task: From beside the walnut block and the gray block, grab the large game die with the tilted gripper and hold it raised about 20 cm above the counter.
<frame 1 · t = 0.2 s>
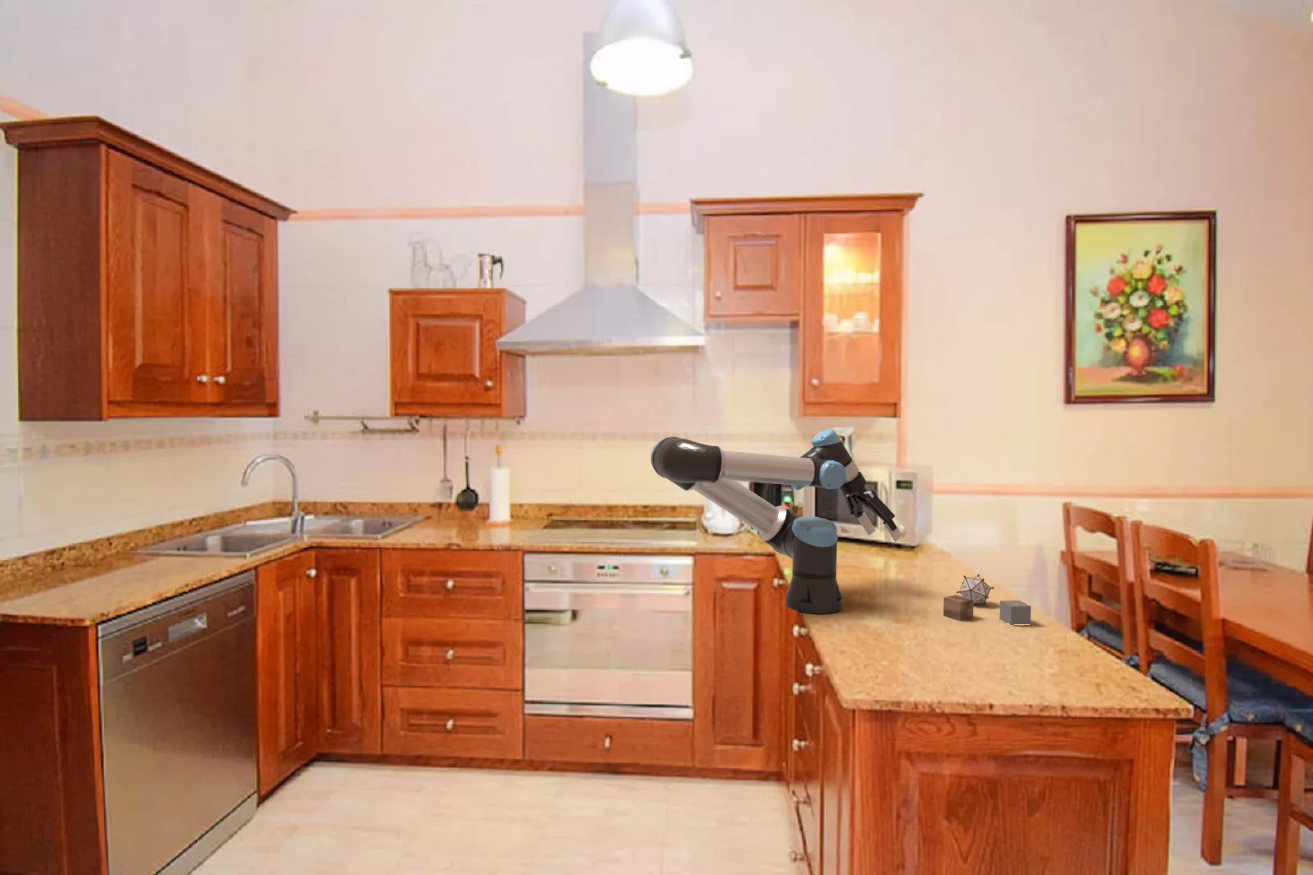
hand: (884, 535, 202), 16 cm above the counter, tool tilted 35°, fingers open, 13 cm apart
gray block: (1014, 623, 170), on the counter
game die: (974, 605, 186), on the counter
walnut block: (958, 617, 175), on the counter
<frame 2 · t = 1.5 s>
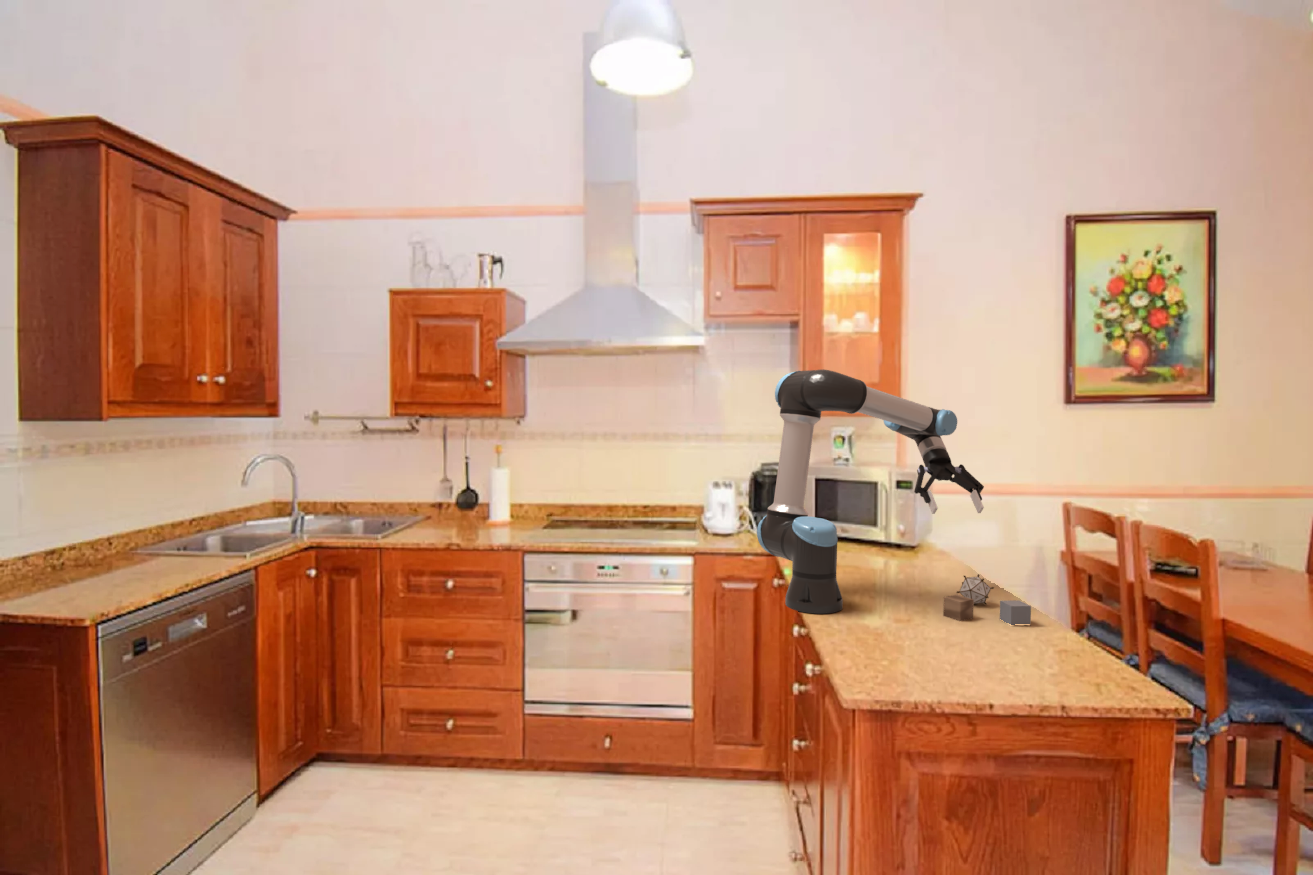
hand: (958, 510, 196), 24 cm above the counter, tool tilted 45°, fingers open, 13 cm apart
nothing on the counter moved.
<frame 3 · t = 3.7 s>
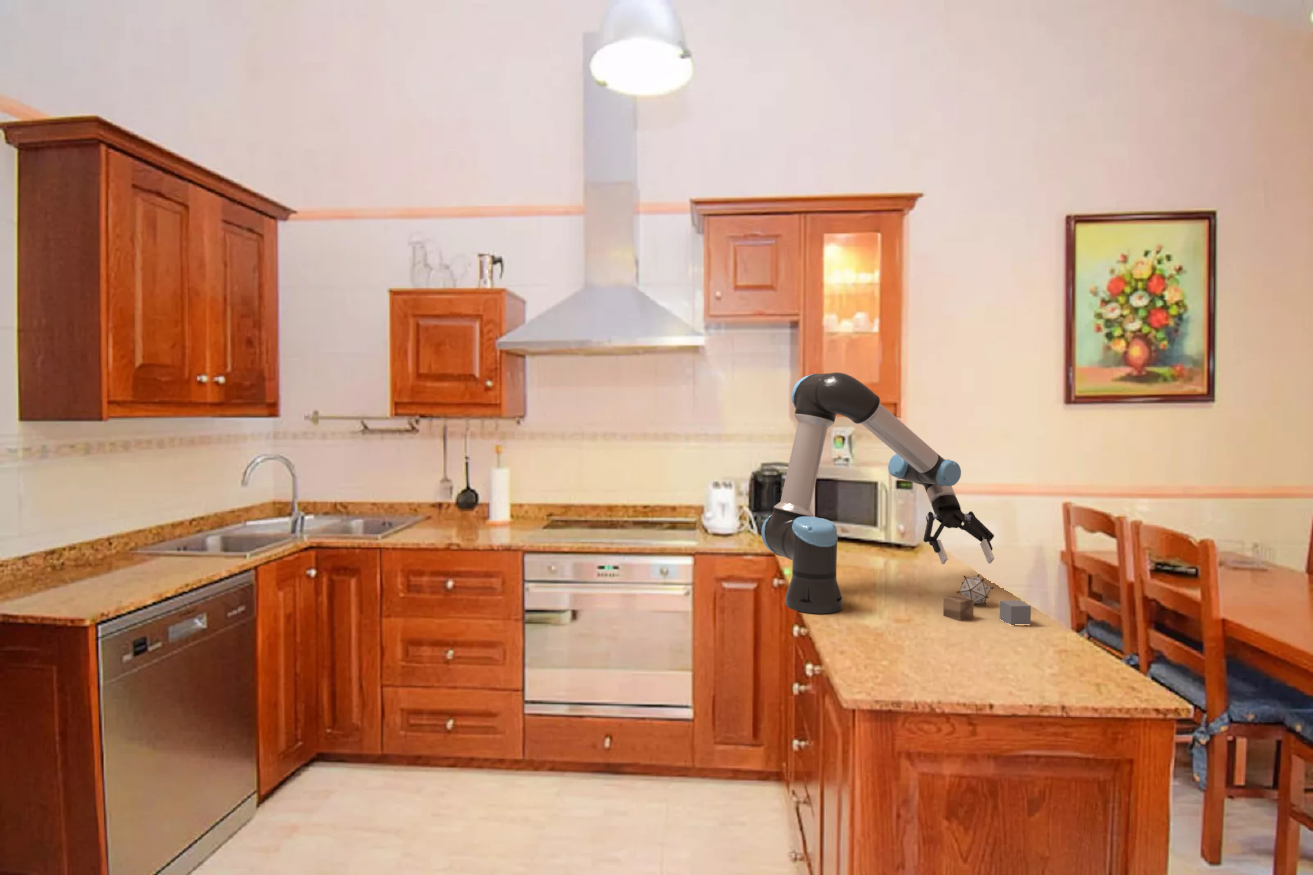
hand: (968, 561, 192), 10 cm above the counter, tool tilted 45°, fingers open, 13 cm apart
nothing on the counter moved.
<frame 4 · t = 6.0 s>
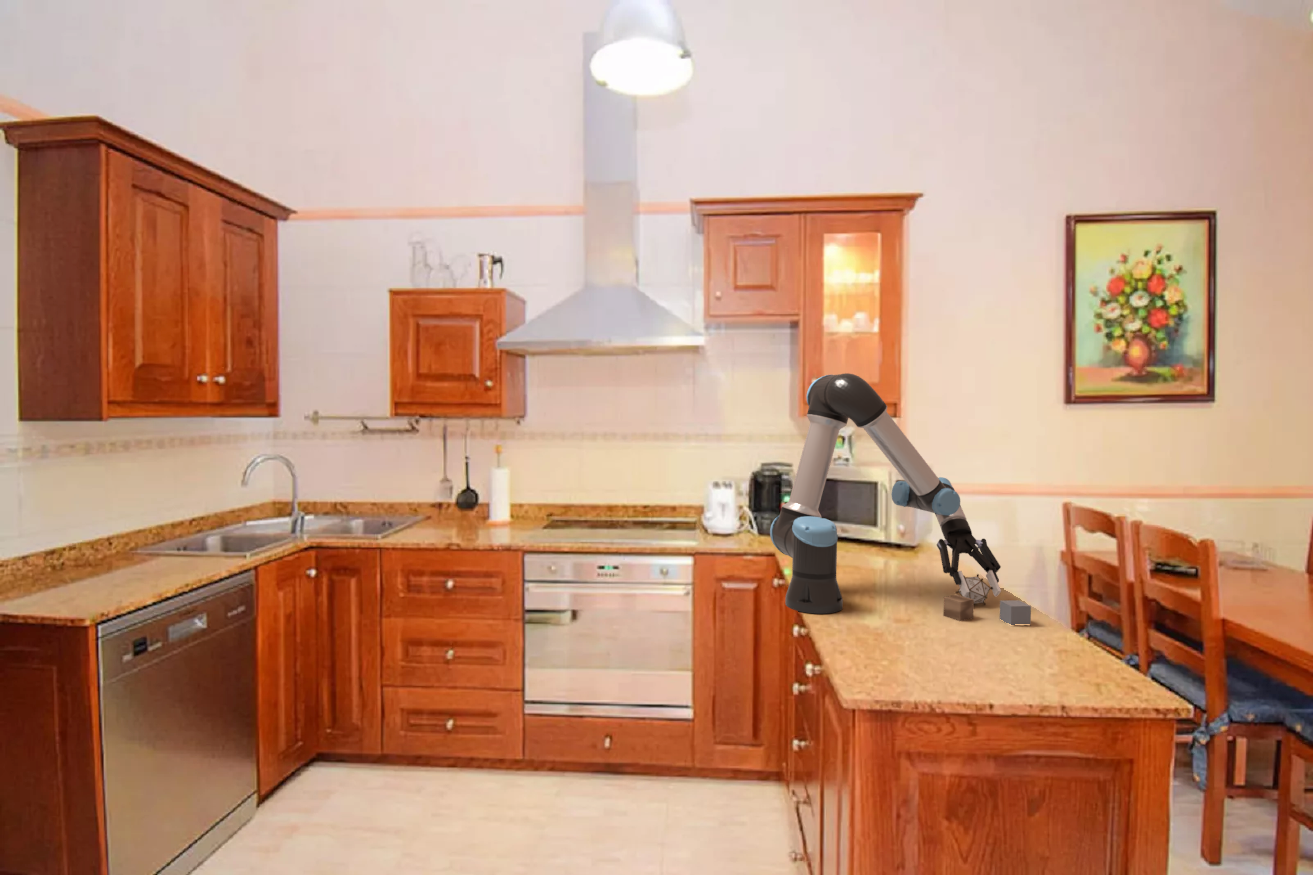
hand: (982, 594, 183), 4 cm above the counter, tool tilted 45°, fingers closed on game die, 8 cm apart
game die: (973, 605, 186), on the counter, touching gripper
everything else where it was.
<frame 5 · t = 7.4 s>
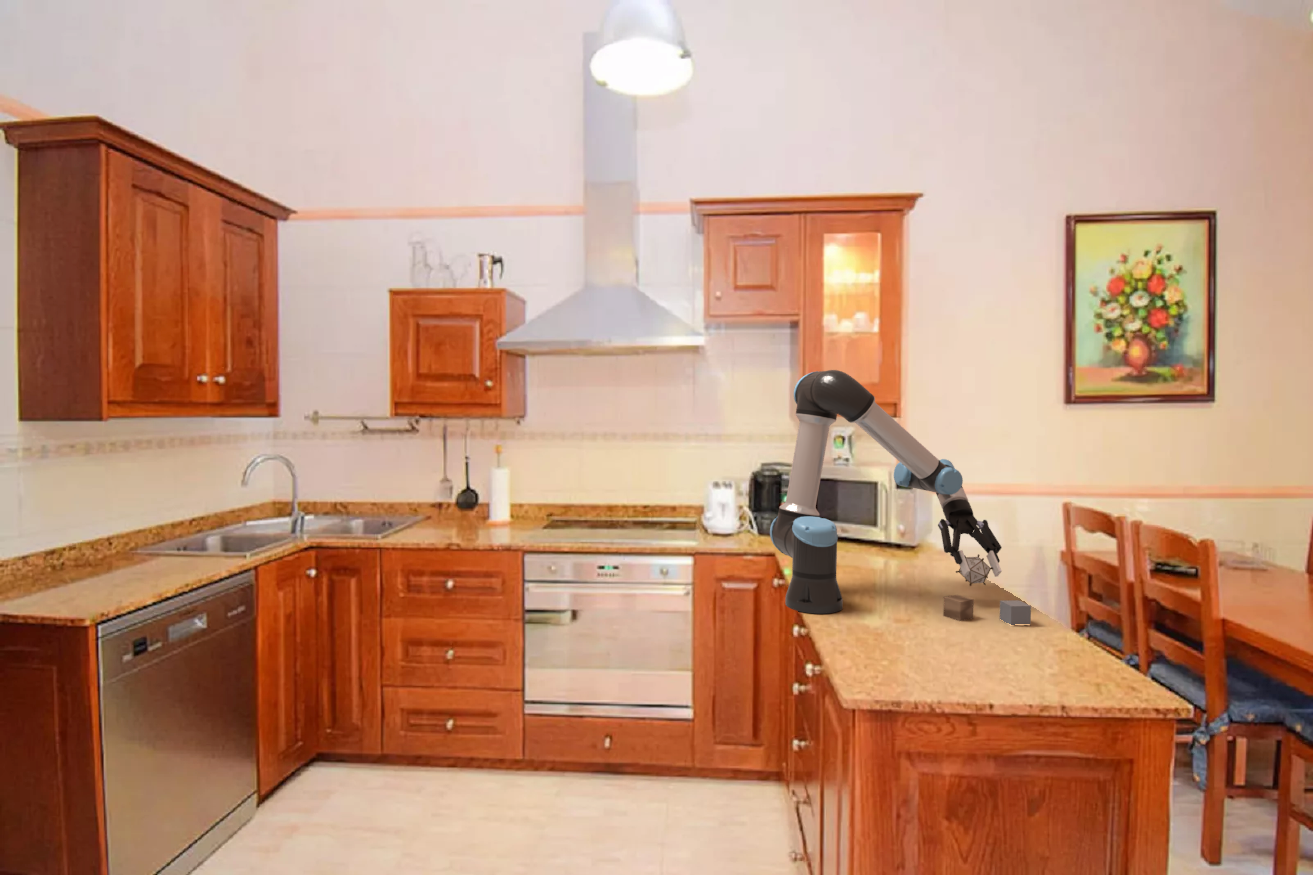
hand: (982, 573, 182), 9 cm above the counter, tool tilted 45°, fingers closed on game die, 8 cm apart
game die: (973, 585, 186), point 5 cm above the counter, touching gripper
everything else where it was.
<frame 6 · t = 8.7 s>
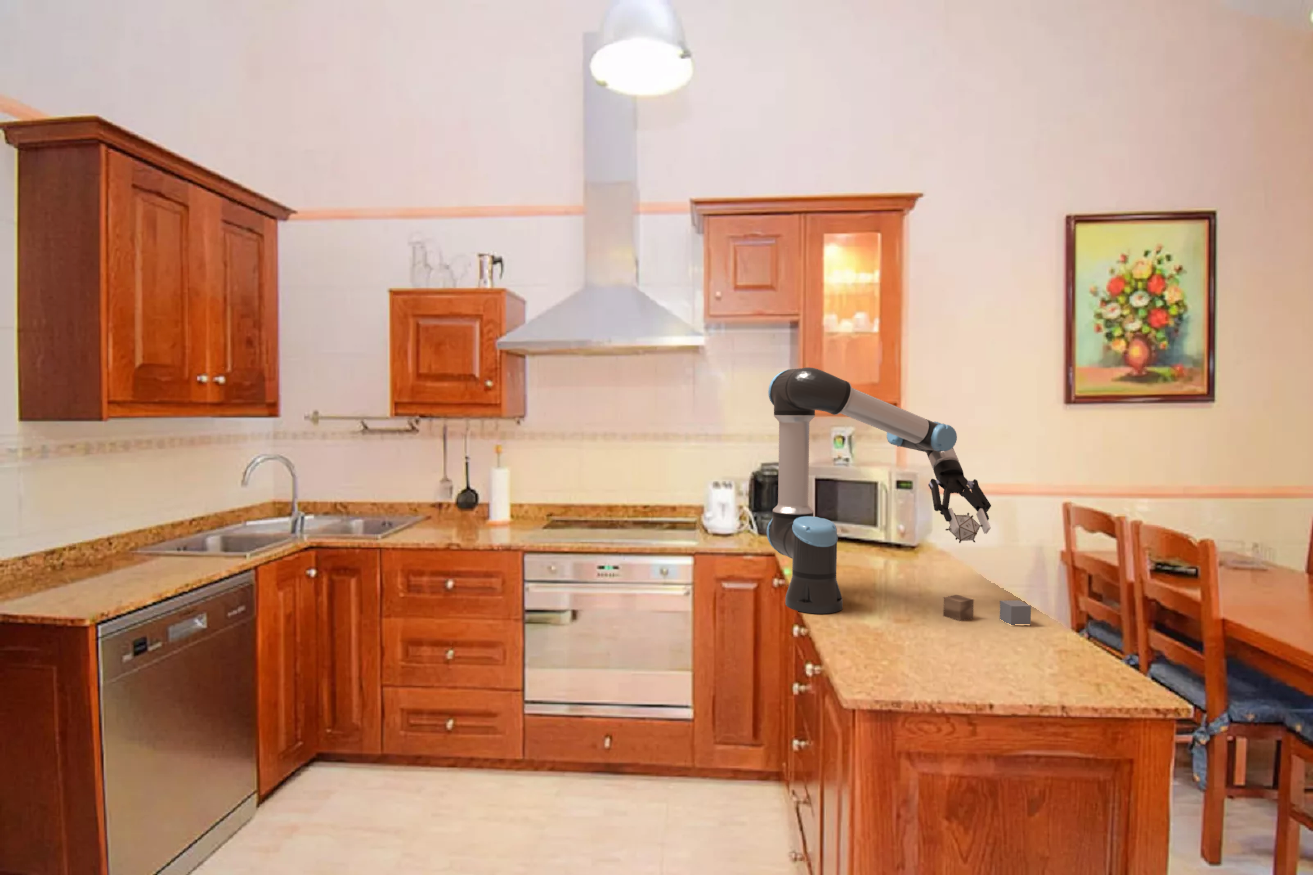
hand: (971, 530, 184), 21 cm above the counter, tool tilted 45°, fingers closed on game die, 8 cm apart
game die: (963, 542, 188), point 17 cm above the counter, touching gripper
everything else where it was.
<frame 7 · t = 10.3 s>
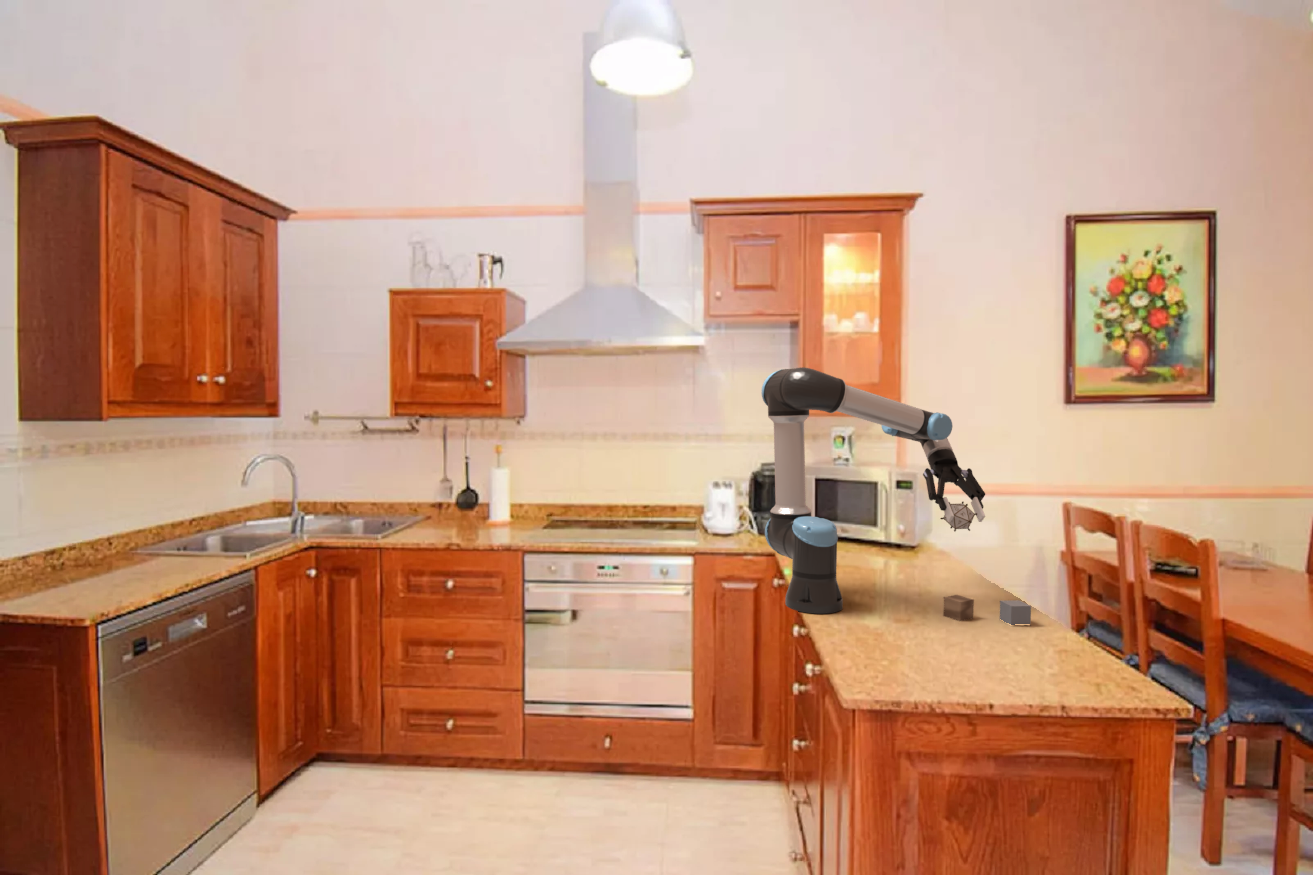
hand: (966, 518, 185), 24 cm above the counter, tool tilted 45°, fingers closed on game die, 8 cm apart
game die: (958, 531, 189), point 20 cm above the counter, touching gripper
everything else where it was.
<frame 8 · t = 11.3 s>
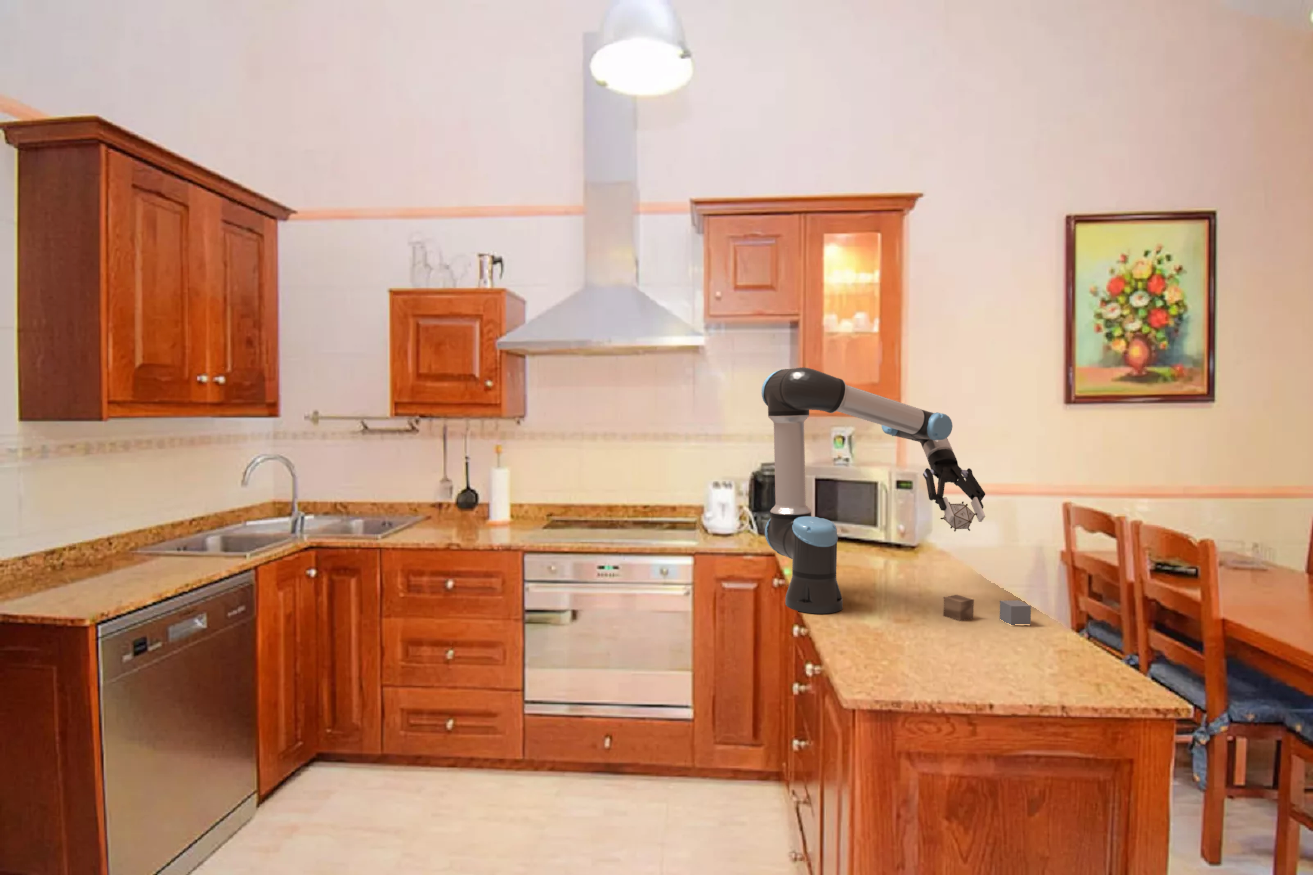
hand: (966, 518, 185), 24 cm above the counter, tool tilted 45°, fingers closed on game die, 8 cm apart
game die: (958, 531, 189), point 20 cm above the counter, touching gripper
everything else where it was.
at the end: the gripper is holding game die; game die point 19.6 cm above the counter; walnut block moved 0.1 cm from its start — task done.
